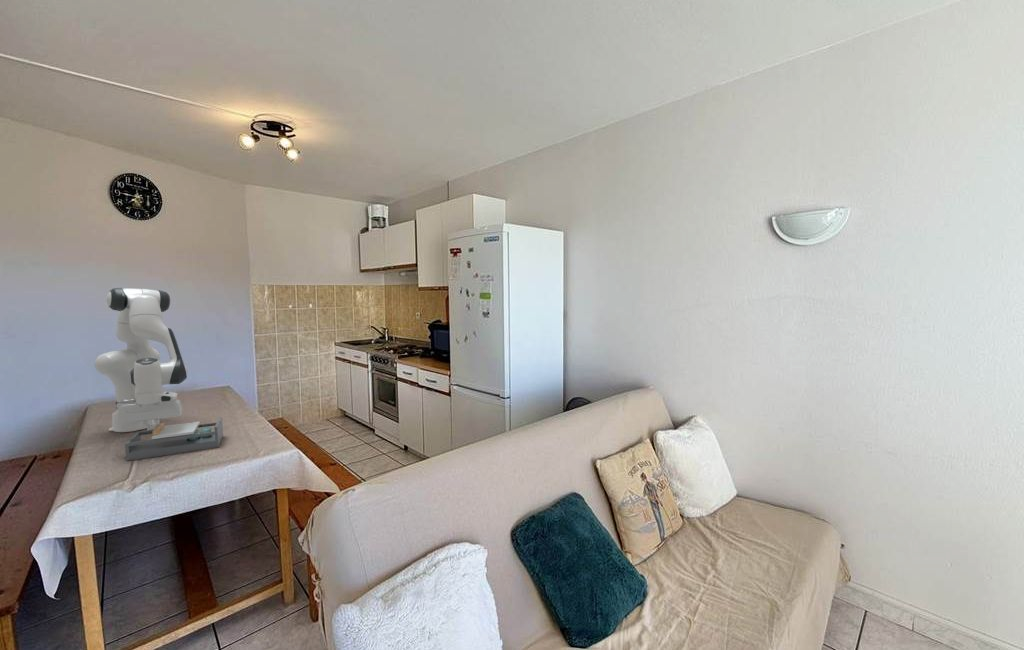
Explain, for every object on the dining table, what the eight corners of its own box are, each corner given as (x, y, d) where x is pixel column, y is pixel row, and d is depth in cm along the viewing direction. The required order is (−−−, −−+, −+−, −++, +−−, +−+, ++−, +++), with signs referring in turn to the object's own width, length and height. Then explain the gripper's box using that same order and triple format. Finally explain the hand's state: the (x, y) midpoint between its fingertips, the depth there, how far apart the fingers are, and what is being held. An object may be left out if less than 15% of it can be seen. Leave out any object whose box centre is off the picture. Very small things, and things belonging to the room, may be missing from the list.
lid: (161, 428, 179) (161, 421, 179) (200, 423, 186) (199, 417, 186) (151, 439, 166) (151, 432, 166) (193, 433, 173) (193, 426, 172)
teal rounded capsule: (190, 444, 180) (189, 430, 179) (200, 443, 182) (199, 428, 181) (188, 447, 177) (187, 432, 176) (198, 446, 179) (197, 431, 178)
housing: (138, 448, 176) (136, 427, 175) (223, 436, 190) (222, 417, 190) (126, 460, 163) (124, 438, 162) (218, 447, 177) (217, 426, 176)
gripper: (113, 402, 163) (116, 436, 164) (178, 396, 173) (180, 428, 174) (119, 398, 169) (121, 431, 170) (181, 393, 178) (184, 424, 179)
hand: (152, 429), depth 172 cm, fingers closed
